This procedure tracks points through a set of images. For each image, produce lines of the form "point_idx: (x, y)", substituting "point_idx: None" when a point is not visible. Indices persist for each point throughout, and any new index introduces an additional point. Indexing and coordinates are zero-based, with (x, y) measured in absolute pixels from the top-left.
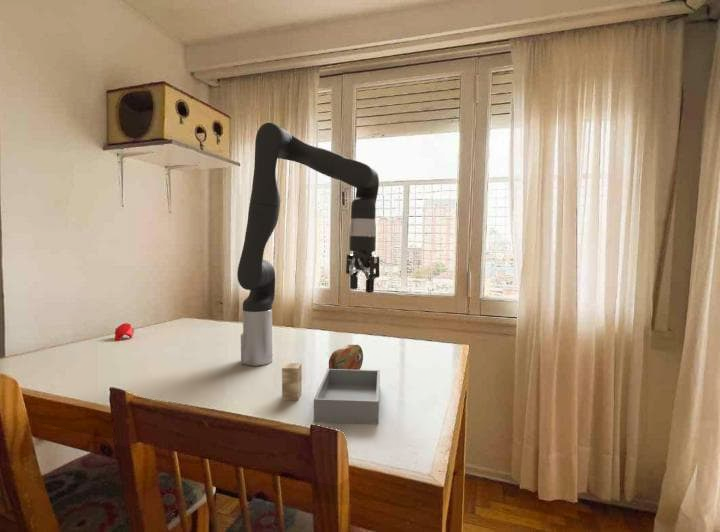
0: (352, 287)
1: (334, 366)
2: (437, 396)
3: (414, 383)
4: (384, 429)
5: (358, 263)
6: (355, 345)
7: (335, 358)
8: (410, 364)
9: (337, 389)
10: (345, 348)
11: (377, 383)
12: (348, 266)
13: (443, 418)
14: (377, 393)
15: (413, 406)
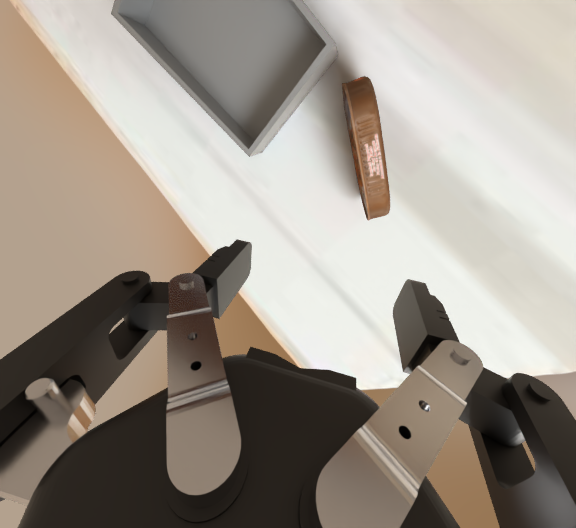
0: (406, 288)
1: (343, 83)
2: (192, 202)
3: (247, 219)
4: None
5: (296, 435)
6: (368, 199)
7: (349, 91)
8: (315, 284)
9: (292, 51)
10: (366, 154)
11: (190, 90)
12: (547, 457)
13: (132, 144)
14: (145, 45)
15: (178, 141)
